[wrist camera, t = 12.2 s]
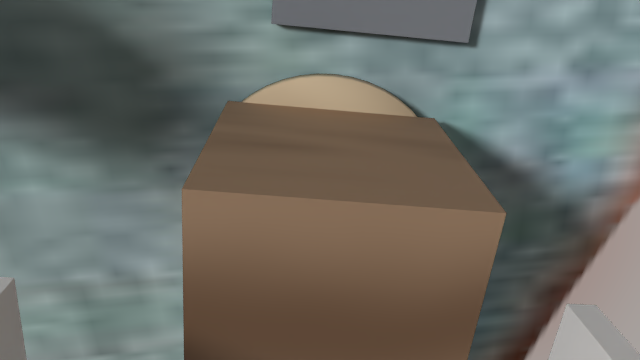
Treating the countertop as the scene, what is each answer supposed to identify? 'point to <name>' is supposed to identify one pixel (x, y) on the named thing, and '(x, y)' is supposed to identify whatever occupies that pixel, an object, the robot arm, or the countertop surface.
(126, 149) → the countertop surface
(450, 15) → the tile
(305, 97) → the cork coaster
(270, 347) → the walnut block
